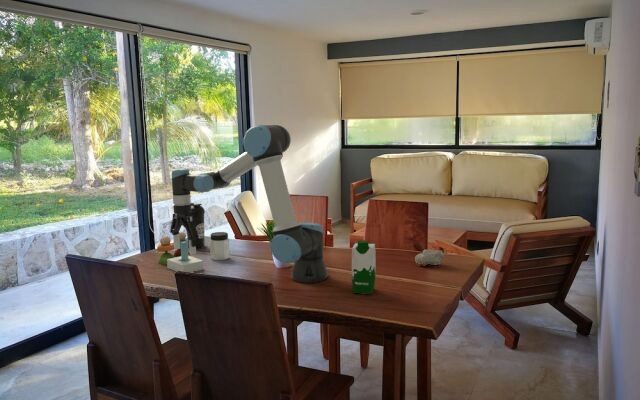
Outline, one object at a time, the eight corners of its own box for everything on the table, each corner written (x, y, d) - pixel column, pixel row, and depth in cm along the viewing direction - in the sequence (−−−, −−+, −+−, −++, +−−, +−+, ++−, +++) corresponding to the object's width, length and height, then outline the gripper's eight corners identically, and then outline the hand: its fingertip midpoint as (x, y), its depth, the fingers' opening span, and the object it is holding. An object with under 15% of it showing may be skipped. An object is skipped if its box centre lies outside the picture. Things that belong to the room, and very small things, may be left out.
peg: (190, 268, 231) (188, 242, 229) (184, 270, 229) (182, 243, 227) (186, 267, 233) (185, 241, 231) (180, 268, 231) (179, 242, 229)
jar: (232, 258, 247) (231, 233, 246) (217, 261, 242) (216, 236, 240) (223, 254, 254) (222, 230, 252) (208, 257, 249) (207, 233, 247)
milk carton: (350, 294, 194) (350, 242, 191) (354, 287, 203) (354, 237, 200) (373, 296, 192) (373, 243, 189) (376, 288, 201) (376, 238, 198)
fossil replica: (411, 264, 234) (422, 272, 225) (411, 247, 232) (422, 254, 223) (435, 259, 238) (447, 267, 229) (435, 242, 236) (447, 249, 227)
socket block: (203, 269, 229) (203, 260, 229) (183, 274, 222) (183, 265, 222) (187, 263, 239) (186, 255, 239) (167, 267, 232) (166, 259, 232)
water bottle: (196, 250, 264) (193, 205, 260) (182, 247, 269) (179, 204, 266) (210, 246, 272) (208, 203, 269) (196, 243, 278) (194, 201, 274)
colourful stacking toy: (189, 265, 237) (188, 238, 235) (154, 263, 240) (153, 237, 238) (204, 255, 254) (203, 230, 253) (172, 254, 257) (170, 229, 256)
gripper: (205, 205, 220) (207, 254, 223) (175, 200, 238) (178, 245, 241) (189, 208, 215) (192, 257, 218) (160, 202, 233) (163, 248, 236)
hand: (184, 251), depth 230 cm, fingers open, 13 cm apart
